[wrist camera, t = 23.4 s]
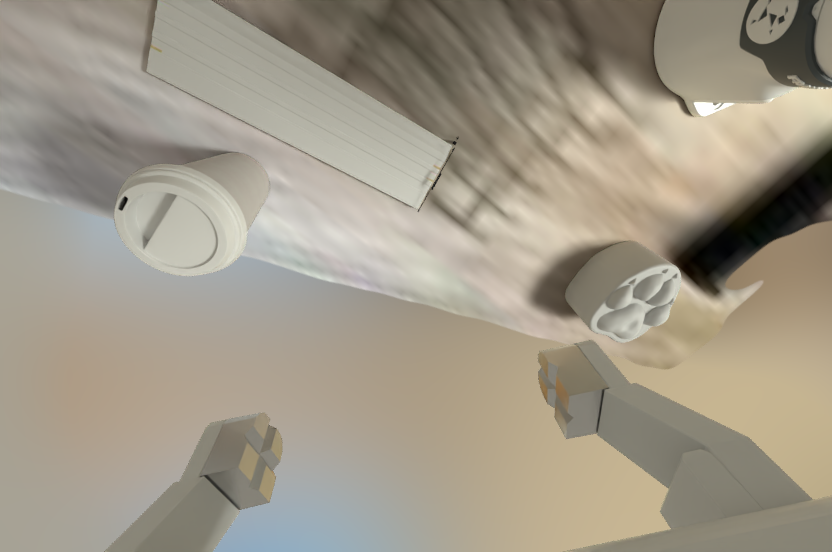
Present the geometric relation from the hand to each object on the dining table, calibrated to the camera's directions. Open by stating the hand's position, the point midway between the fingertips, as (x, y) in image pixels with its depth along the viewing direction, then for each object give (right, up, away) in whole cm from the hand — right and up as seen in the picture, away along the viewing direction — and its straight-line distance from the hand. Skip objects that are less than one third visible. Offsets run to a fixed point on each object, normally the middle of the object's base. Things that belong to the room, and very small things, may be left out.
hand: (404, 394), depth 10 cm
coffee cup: (-20, +15, +29) cm, 38 cm away
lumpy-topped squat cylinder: (+30, +3, +42) cm, 52 cm away
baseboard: (-10, +22, +26) cm, 36 cm away
